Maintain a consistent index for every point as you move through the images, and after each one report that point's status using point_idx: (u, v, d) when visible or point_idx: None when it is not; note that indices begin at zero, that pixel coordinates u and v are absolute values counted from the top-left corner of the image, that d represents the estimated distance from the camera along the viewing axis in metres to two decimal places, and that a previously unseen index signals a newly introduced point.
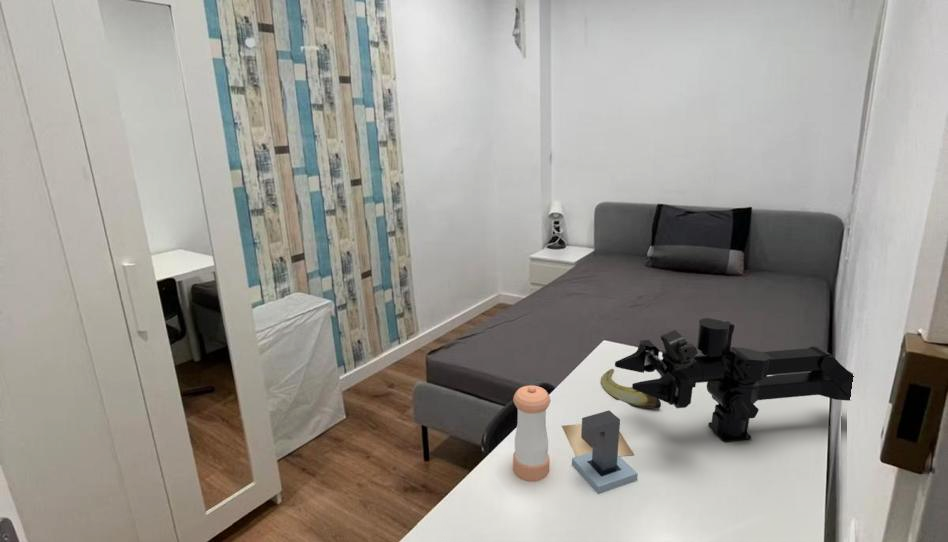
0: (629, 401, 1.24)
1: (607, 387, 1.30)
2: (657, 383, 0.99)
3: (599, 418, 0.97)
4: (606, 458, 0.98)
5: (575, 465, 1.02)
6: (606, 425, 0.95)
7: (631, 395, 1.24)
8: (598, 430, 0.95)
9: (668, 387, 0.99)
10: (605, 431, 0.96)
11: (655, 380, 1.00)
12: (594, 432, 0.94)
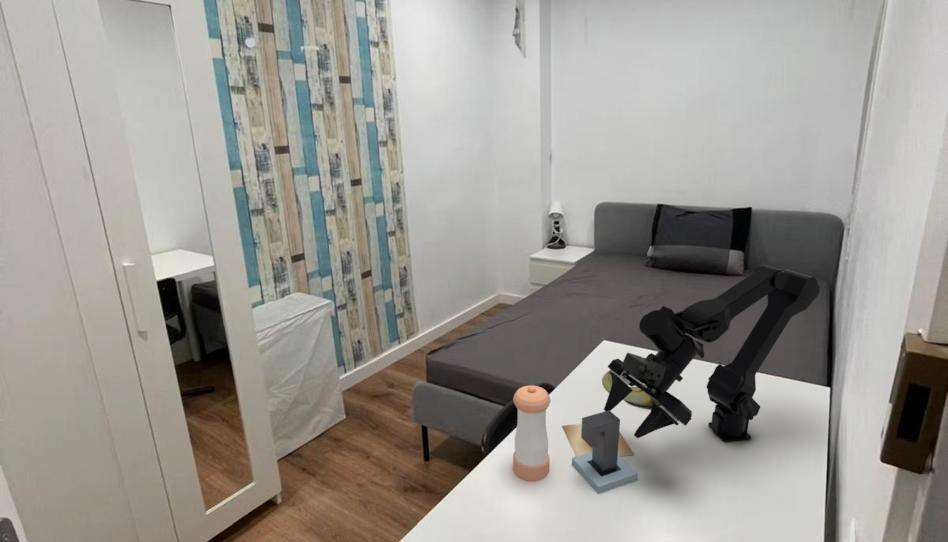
0: (632, 401, 1.24)
1: (609, 387, 1.30)
2: (652, 420, 0.93)
3: (599, 418, 0.97)
4: (606, 458, 0.98)
5: (575, 465, 1.02)
6: (606, 425, 0.95)
7: (634, 395, 1.25)
8: (598, 430, 0.95)
9: (663, 414, 0.93)
10: (605, 431, 0.96)
11: (649, 417, 0.94)
12: (594, 432, 0.94)
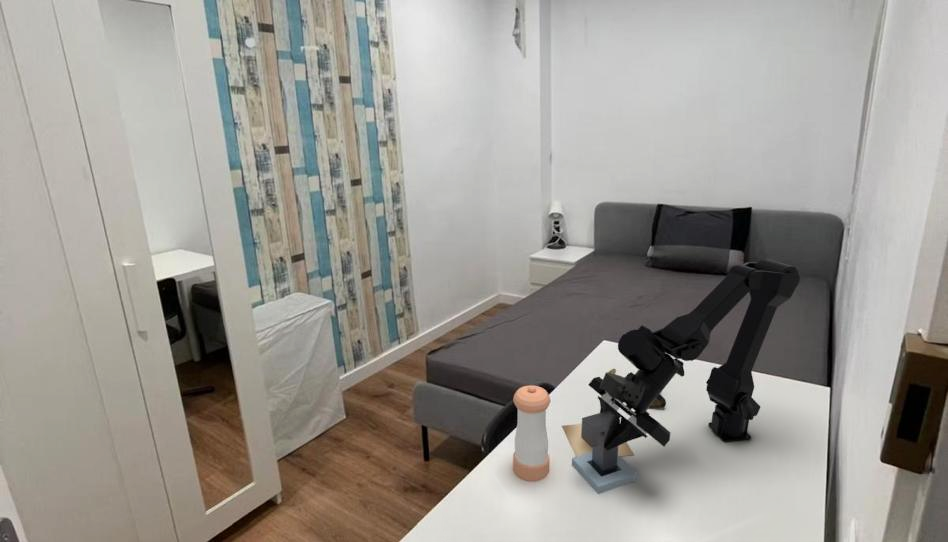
0: None
1: None
2: (621, 433, 0.95)
3: (599, 418, 0.97)
4: (606, 458, 0.98)
5: (575, 465, 1.02)
6: (606, 425, 0.95)
7: None
8: (598, 430, 0.95)
9: None
10: (605, 431, 0.96)
11: (618, 430, 0.96)
12: (594, 432, 0.94)
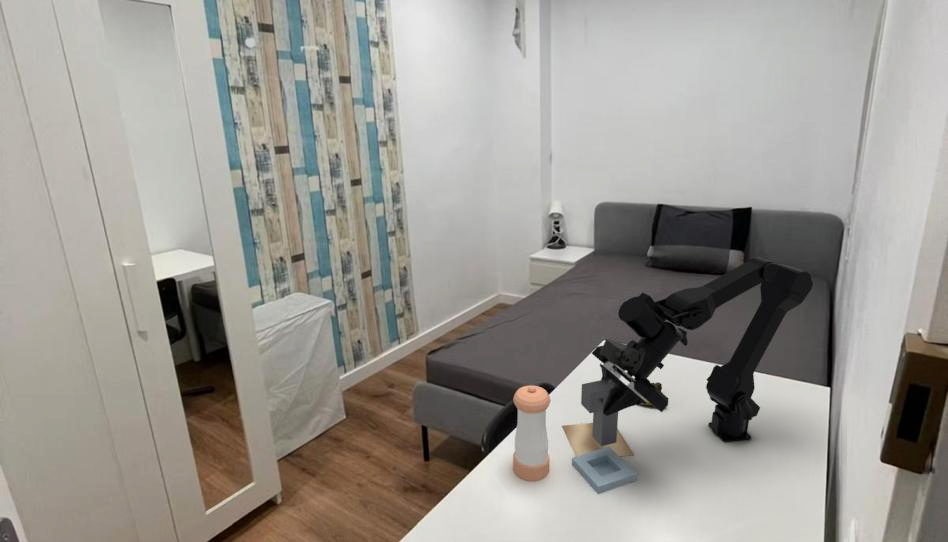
0: None
1: None
2: (620, 398, 0.96)
3: (598, 384, 0.98)
4: (605, 424, 0.99)
5: (575, 465, 1.02)
6: (605, 391, 0.96)
7: None
8: (597, 396, 0.96)
9: (631, 393, 0.96)
10: (604, 397, 0.97)
11: (617, 396, 0.96)
12: (592, 398, 0.96)
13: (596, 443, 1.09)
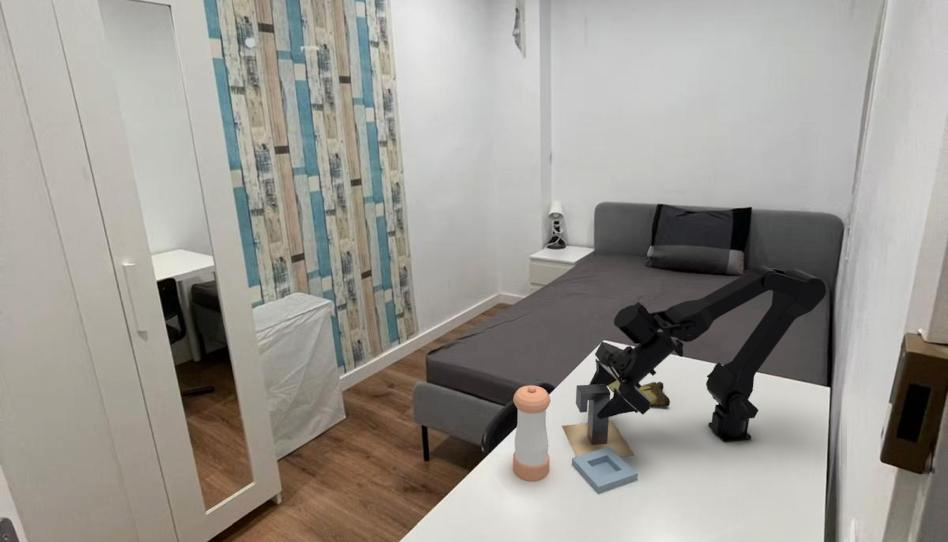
0: None
1: (614, 387, 1.30)
2: (612, 404, 1.01)
3: (591, 388, 1.07)
4: (596, 425, 1.07)
5: (575, 465, 1.02)
6: (595, 394, 1.05)
7: None
8: (587, 397, 1.05)
9: None
10: (594, 400, 1.06)
11: (610, 401, 1.02)
12: (583, 398, 1.05)
13: None
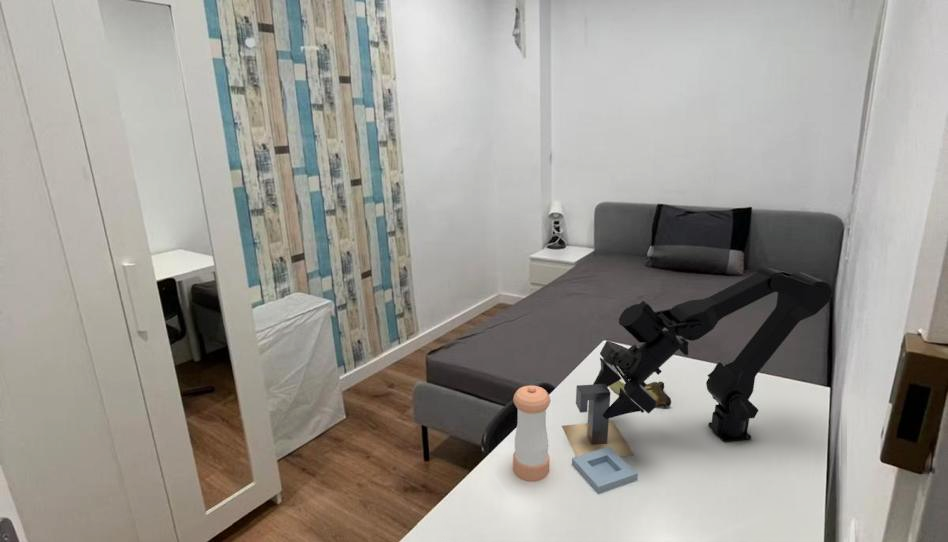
0: None
1: (615, 387, 1.30)
2: (618, 404, 1.01)
3: (591, 388, 1.07)
4: (596, 425, 1.07)
5: (575, 465, 1.02)
6: (595, 394, 1.05)
7: None
8: (587, 397, 1.05)
9: None
10: (594, 400, 1.06)
11: (616, 401, 1.02)
12: (583, 398, 1.05)
13: None
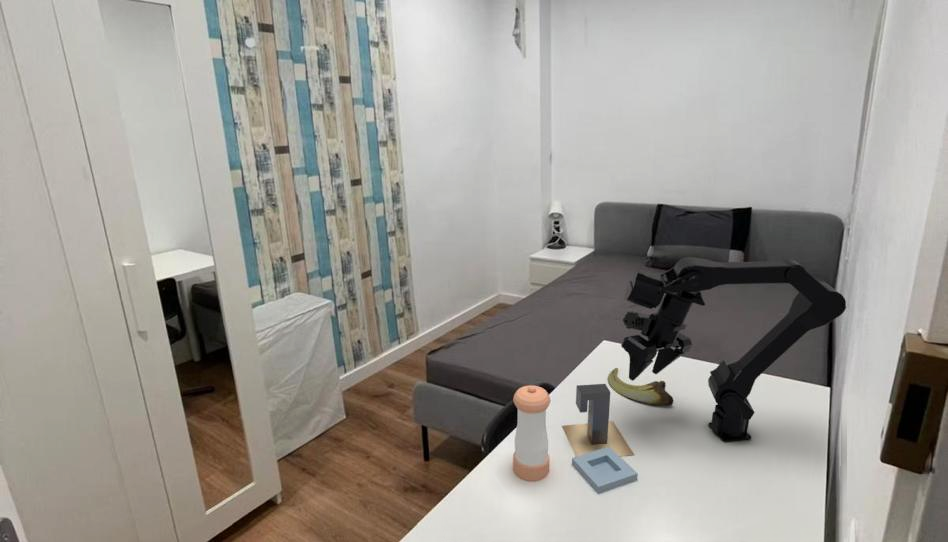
0: (642, 400, 1.24)
1: (616, 387, 1.30)
2: (630, 360, 1.08)
3: (591, 388, 1.07)
4: (596, 425, 1.07)
5: (575, 465, 1.02)
6: (595, 394, 1.05)
7: (643, 394, 1.25)
8: (587, 397, 1.05)
9: None
10: (594, 400, 1.06)
11: None
12: (583, 398, 1.05)
13: None
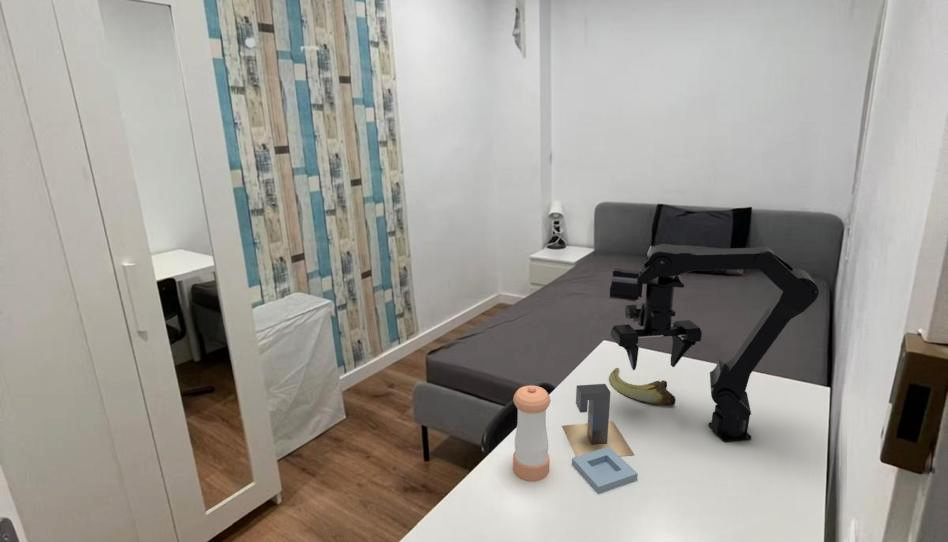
0: (644, 399, 1.24)
1: (618, 387, 1.30)
2: (626, 350, 1.14)
3: (591, 388, 1.07)
4: (596, 425, 1.07)
5: (575, 465, 1.02)
6: (595, 394, 1.05)
7: (645, 393, 1.25)
8: (587, 397, 1.05)
9: None
10: (594, 400, 1.06)
11: None
12: (583, 398, 1.05)
13: None
